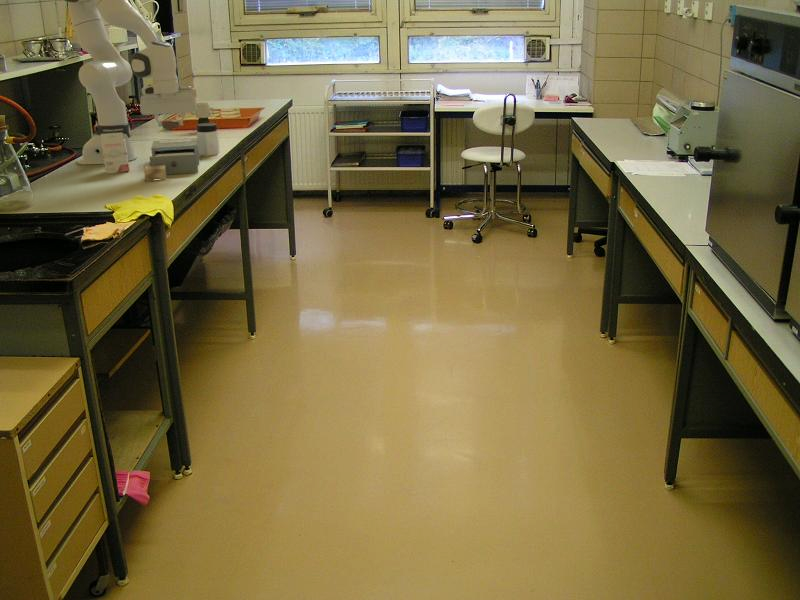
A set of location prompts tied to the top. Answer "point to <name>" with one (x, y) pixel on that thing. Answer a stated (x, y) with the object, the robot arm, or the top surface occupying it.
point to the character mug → (203, 112)
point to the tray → (176, 162)
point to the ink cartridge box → (114, 153)
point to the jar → (208, 139)
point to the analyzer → (175, 147)
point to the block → (155, 172)
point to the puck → (170, 124)
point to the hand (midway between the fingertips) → (170, 125)
